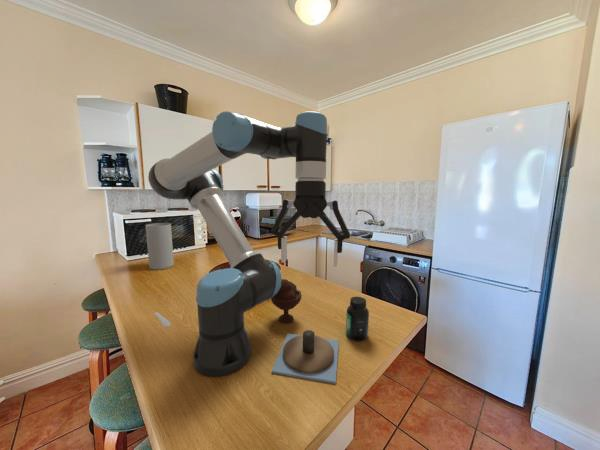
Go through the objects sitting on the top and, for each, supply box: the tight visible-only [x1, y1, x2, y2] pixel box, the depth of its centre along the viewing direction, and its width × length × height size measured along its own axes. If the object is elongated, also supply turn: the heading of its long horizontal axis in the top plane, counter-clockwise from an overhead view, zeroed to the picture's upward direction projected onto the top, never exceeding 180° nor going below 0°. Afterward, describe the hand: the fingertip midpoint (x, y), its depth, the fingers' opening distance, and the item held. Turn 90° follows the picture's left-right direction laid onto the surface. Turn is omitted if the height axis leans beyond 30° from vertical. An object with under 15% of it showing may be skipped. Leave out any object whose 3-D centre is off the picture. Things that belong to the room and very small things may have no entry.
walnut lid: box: [283, 329, 334, 373], centre depth 66 cm, size 14×14×6 cm
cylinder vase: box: [145, 222, 175, 271], centre depth 138 cm, size 12×12×25 cm
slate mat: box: [271, 333, 340, 385], centre depth 66 cm, size 16×16×1 cm
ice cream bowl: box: [270, 278, 302, 324], centre depth 84 cm, size 11×11×15 cm
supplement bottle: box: [345, 296, 370, 342], centre depth 75 cm, size 7×7×12 cm
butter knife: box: [153, 311, 171, 328], centre depth 89 cm, size 1×27×3 cm
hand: (309, 263), depth 62 cm, fingers open, 13 cm apart
